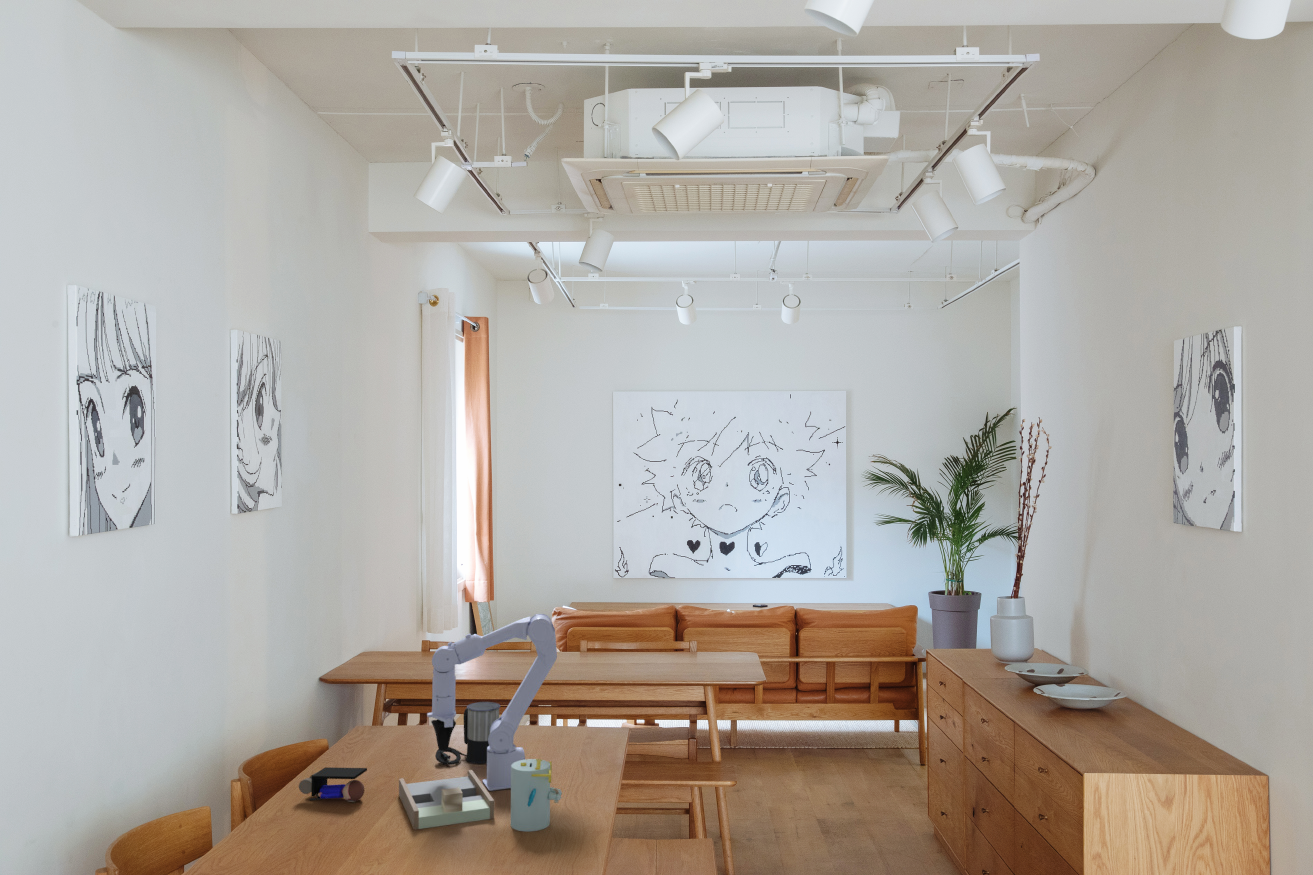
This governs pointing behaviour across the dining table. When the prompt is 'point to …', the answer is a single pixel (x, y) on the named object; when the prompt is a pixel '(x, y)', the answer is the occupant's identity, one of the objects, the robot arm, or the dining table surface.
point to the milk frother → (474, 734)
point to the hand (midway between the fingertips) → (443, 749)
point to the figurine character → (323, 791)
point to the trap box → (427, 801)
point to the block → (452, 800)
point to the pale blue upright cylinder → (531, 794)
